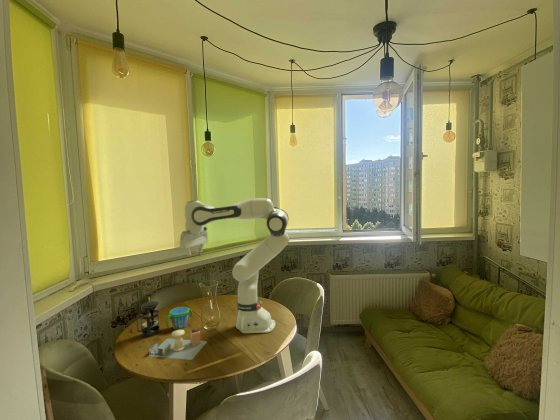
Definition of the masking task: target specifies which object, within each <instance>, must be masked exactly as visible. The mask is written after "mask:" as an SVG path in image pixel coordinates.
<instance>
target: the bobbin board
mask: <svg viewBox="0 0 560 420" xmlns="http://www.w3.org/2000/svg"><path fill="white" fill-rule="evenodd" d="M185 333H186V332H185V330H184V329H179V330H173V331H172V332H171V337H172V338H168V337H167V338H166V339H165V340H164V341H163V342H162V343H161V344H159V345H158V349H164V348H165V347H166V346H167V345H168V344H171V350H170V351H169V352H168V353H167V354H166V355H165V356H159V355H149V354H148V355H147V356H148V357H154V358H155V357H156V358H165V359H166V358H167V359H168V358H170V359H176V360H178V359H179V360H188V361H192V360H193V359H194V358H195V357H196V356H197V354H199V352H200V351H201V350H202V349H203V347H204V346H205V345H206V344H207V343H208V341H205V340H201V344H199V345H195V346H192V344H191V340H190V339H184V338H183V336H184V335H185Z"/></svg>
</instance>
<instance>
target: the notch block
mask: <svg viewBox="0 0 560 420" xmlns="http://www.w3.org/2000/svg"><path fill="white" fill-rule="evenodd" d="M158 346H159V345H158V342H155V343H154V344H152V345H151V346H150V347H149V348H148V352H149V353H148V355H159V356H165V355H166V354H167V353H168V352H169V351H170V350H171V344H168V345H167V346H166V347H165V348H164V349H158Z"/></svg>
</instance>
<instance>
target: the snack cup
mask: <svg viewBox="0 0 560 420" xmlns="http://www.w3.org/2000/svg"><path fill="white" fill-rule="evenodd" d="M193 316H194V313H193V310H192V309H191V308H190V307H187V306H178V307H174V308H172V309H170V311H169V312H168V315H167V316H166V319H165V326H166V327H167V328H169V327H170V325H169V319H170V321H171V325H172V328H173V331H176V330H184V329H186V328H187V327H188V321H189V317H190V318H193Z"/></svg>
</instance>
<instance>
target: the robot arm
mask: <svg viewBox="0 0 560 420" xmlns="http://www.w3.org/2000/svg"><path fill="white" fill-rule="evenodd" d="M184 218H185V224H184V226H185V231H184V230H183V231H182V232H181V234H180V239H179V247H180V249H182V250H183V249H185V252H186V255H187V256H192V255H193V254H192V251H191V248H192V247H197V246H199V248H198V250H197V252H198V253H202V252H203V248H204V244H206V243H208V241H209V240H208V239H209V235H208V226H205V225H207V224H210V223H211V224H212V223H214V222H216V221H218V220H226V219H235V220H236V219H238V220H255V219H265V220H266V227H267V230H268V231H269V232H270V233H269V235H268V236H267V237H265V238H264V239H263V240H261V242H260V243H258V244H257V245H256V246H255V247H254V248H253V249H252V250H250V251H249V252H248V253H247V254H245V255H244V256H243V257H242V258H241V259H240V260H239V261H237V262H236V263H235V264H234V267H233V268H232V271H231V272H232V276H233V279H235V280H236V281H237V282H238V285H237V301H236V309H237V319H236V324H235V328H236V330H238V331H240V333H242V334H255V333H256V334H261V333H263V334H264V333H266V334H267V333H271V332H272V331H273V330H274V329H275V327H276V320H274V319H272V316H271V314H270V312H269V311H267V310H266V309H265V308H264V307H262V300H260V301H259V299H258V282H259V275H260V273H259V272H260V270H261V269H263V267H265V266H266V265H268V263H269V262H271V260H273V259H274V258H275V257H277V255H279V254H280V253H281V252H282V251H283V250H284V249H285V248H286V246H288V244H289V242H290V237H289V234H288V233H287V232H286V228H287V226H288V224H289V215H288V213H287V212H286V211H285V210H283V209H280V208H279V207H276V206H274V204H273V201H272V200H271V199H269V198H267V197H266V198H265V197H258V198H256V197H255V198H249V199H245V200H241V201H239V202H236V203H232V204H230V205H227V206H221V207H215V206H212V205H208V204H205V203H203V202H201V201H200V200H198V199H197V200H196V199H195V200H191V201H187V202H186V203H185V206H184Z"/></svg>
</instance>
